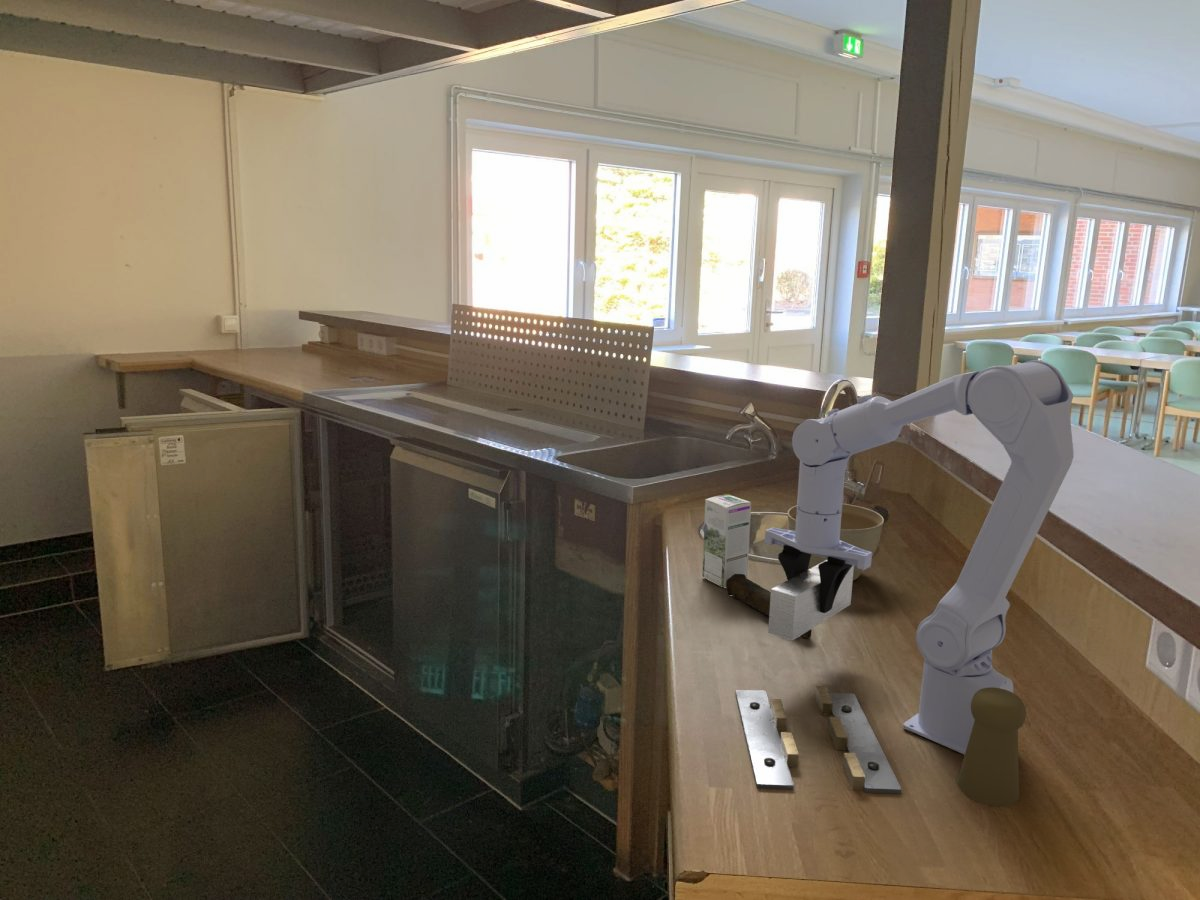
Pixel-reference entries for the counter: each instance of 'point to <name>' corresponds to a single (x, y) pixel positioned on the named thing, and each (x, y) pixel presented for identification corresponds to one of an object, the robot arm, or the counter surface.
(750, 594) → the brown wooden log
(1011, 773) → the cork
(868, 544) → the planter bowl
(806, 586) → the aluminum bar stock
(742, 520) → the syrup box
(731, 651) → the counter surface
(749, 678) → the counter surface
